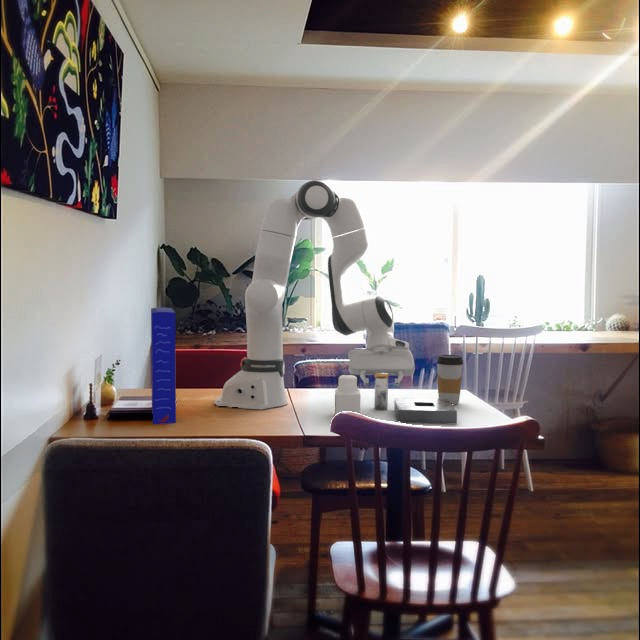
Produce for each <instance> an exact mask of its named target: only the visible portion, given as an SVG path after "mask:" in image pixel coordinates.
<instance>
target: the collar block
mask: <svg viewBox="0 0 640 640" xmlns="http://www.w3.org/2000/svg"><path fill="white" fill-rule="evenodd" d="M393 405H394V410H393V411H394V413H395V418H396V420H397V422H398V421H400V422H399V423H409V424H411V423H414V424H415V423H416V424H444V423H457V422H458V419H457V418H458V411H457V409H456V408H455V406H454V405H452V404H451V402H450V401H449V400H448V399H439V398H408V397H407V398H403V397H394V403H393Z"/></svg>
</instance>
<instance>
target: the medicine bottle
mask: <svg viewBox="0 0 640 640" xmlns="http://www.w3.org/2000/svg"><path fill="white" fill-rule="evenodd" d="M336 380H337V381H336V382H337V384H336V389H335V390H334V415H335V414H337V413H339V412H342V411H352V412H357V413H360V414H361V401H362V399H361V390H360V389H359V375H354V374H350V373H341V374H339V375H337V377H336Z"/></svg>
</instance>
